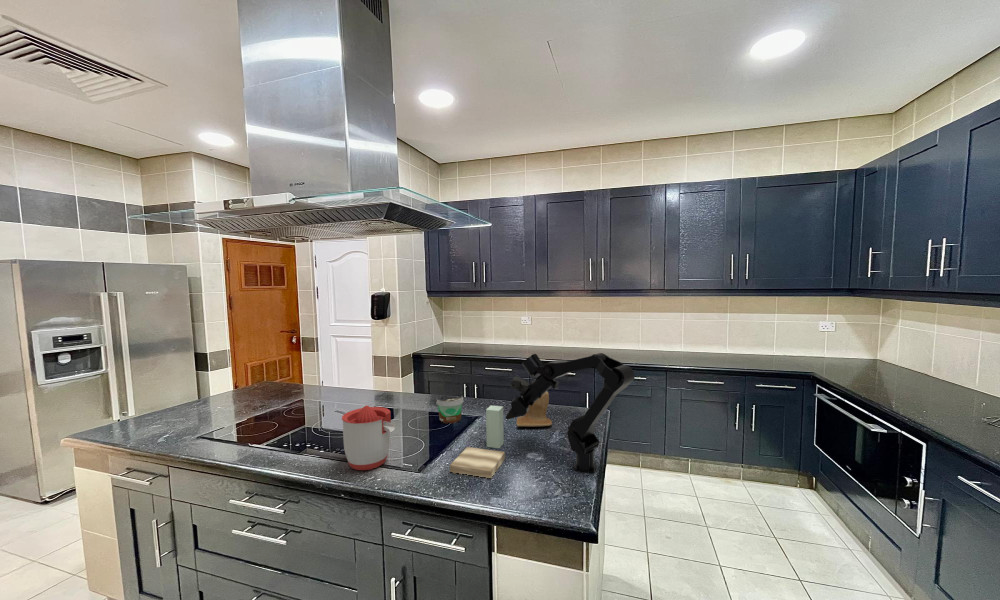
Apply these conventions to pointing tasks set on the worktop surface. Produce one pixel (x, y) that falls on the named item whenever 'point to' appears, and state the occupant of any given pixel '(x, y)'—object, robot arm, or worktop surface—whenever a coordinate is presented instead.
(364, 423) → the citrus juicer
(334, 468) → the worktop surface
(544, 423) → the stone cup
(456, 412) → the food container
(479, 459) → the birch base
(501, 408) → the sage block
